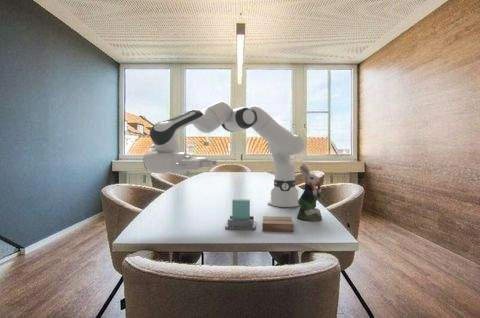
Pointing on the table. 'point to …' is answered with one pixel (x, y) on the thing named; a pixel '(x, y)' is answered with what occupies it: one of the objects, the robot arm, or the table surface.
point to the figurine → (309, 197)
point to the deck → (277, 224)
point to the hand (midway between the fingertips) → (214, 163)
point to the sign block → (241, 209)
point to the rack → (241, 224)
